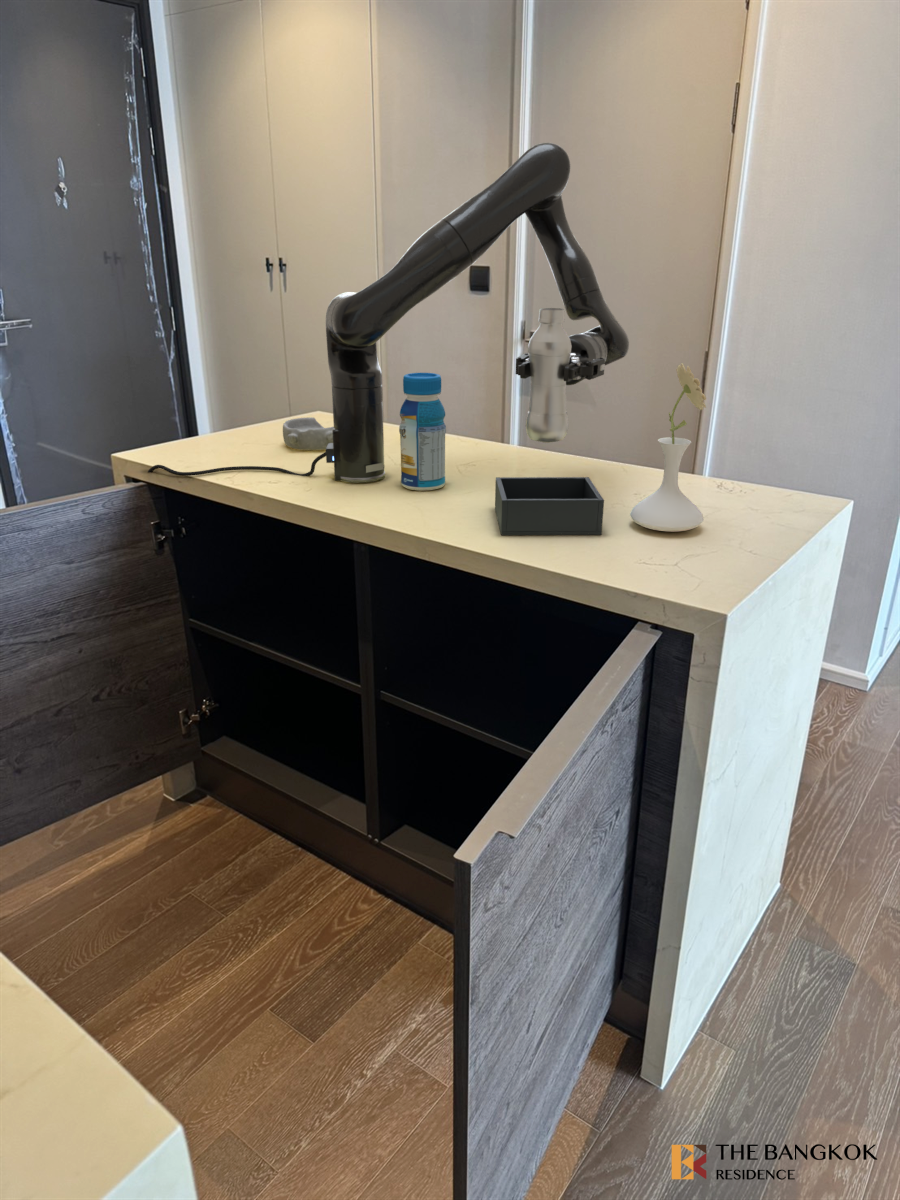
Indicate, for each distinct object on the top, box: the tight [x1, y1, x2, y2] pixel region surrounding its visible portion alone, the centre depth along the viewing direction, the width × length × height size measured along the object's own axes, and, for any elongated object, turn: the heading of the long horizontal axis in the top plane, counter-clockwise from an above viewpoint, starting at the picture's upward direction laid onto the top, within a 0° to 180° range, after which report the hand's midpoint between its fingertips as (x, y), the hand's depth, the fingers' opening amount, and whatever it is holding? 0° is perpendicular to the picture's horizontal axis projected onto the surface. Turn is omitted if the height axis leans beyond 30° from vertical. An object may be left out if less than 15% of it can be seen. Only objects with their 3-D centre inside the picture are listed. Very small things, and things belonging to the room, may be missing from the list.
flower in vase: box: [629, 362, 707, 533], centre depth 133 cm, size 13×11×25 cm
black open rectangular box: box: [494, 476, 605, 536], centre depth 138 cm, size 16×14×6 cm
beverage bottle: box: [398, 372, 447, 492], centre depth 155 cm, size 8×8×20 cm
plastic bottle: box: [525, 307, 572, 444], centre depth 132 cm, size 6×7×20 cm
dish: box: [282, 416, 334, 451], centre depth 188 cm, size 14×14×5 cm
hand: (544, 372), depth 130 cm, fingers closed on plastic bottle, 6 cm apart
